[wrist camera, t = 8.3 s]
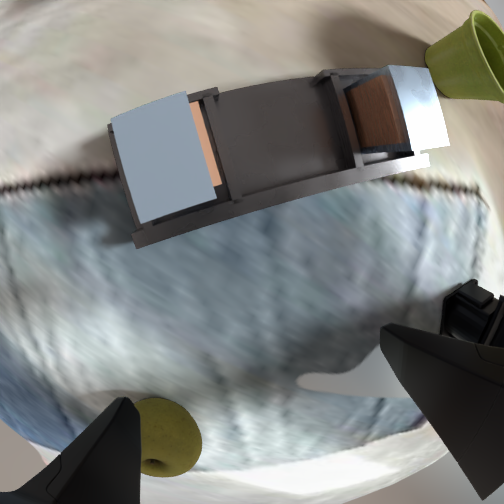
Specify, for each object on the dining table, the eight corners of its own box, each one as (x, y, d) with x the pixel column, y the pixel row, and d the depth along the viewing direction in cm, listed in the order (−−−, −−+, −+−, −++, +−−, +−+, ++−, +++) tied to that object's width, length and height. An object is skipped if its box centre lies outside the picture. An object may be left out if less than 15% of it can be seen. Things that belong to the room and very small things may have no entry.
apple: (112, 384, 21) (93, 439, 14) (192, 381, 22) (191, 443, 15) (137, 431, 23) (129, 482, 17) (207, 429, 24) (211, 483, 18)
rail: (409, 165, 20) (471, 168, 13) (145, 239, 18) (113, 273, 12) (386, 77, 18) (442, 54, 11) (113, 133, 16) (67, 114, 9)
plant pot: (460, 132, 20) (525, 131, 12) (401, 69, 18) (468, 43, 9) (473, 77, 18) (526, 68, 10) (420, 19, 16) (473, -6, 8)
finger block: (220, 189, 17) (225, 195, 12) (162, 208, 17) (140, 224, 11) (199, 116, 16) (194, 88, 10) (141, 136, 16) (110, 118, 10)
